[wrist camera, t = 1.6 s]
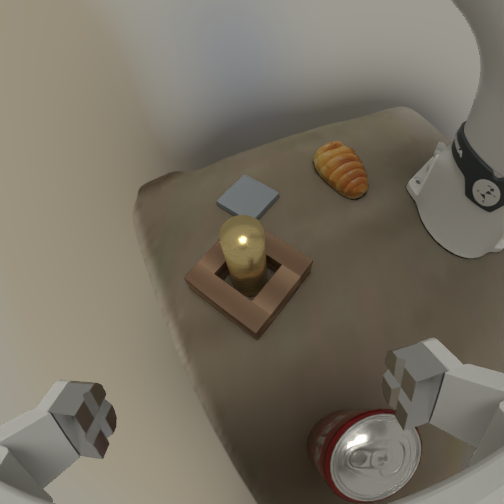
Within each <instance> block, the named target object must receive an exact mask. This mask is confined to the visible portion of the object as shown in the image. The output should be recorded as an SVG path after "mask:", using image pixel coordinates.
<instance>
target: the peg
mask: <svg viewBox="0 0 504 504" xmlns="http://www.w3.org/2000/svg"><path fill="white" fill-rule="evenodd" d="M219 240H220V244H221V247H222V250H223V254H224V257H225V260H226V263H227V267H228V270H229V273H230V276H231V279H232V283H233V286H234V288H235V289H236V290H237V291H238V292H240V293H241V294H242V295H244V296H245V297H254V296H257V295H258V293H259V292H260V291H261V290H262V289H263V287H264V286H265V285H266V284H267V264H266V248H265V233H264V227H263V225H262V224H261V222H260V221H259V220H258V219H256V218H254V217H252V216H249V215H237V216H234V217H231V218H230V219H228V220H227V221H225V222H224V223H223V225H222V226H221V228H220V230H219Z"/></svg>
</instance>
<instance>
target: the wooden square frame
mask: <svg viewBox="0 0 504 504" xmlns="http://www.w3.org/2000/svg"><path fill="white" fill-rule="evenodd" d="M264 233H265V248H266V264H267V267H268V268H270V269H271V270H273V271H274V272H276V273H275V274H274V275H273V276H272V278H271V279H270V280H269V281H268V283H267V284H266V285H265V286H264V287H263V289H262V290H261V291H260V292H259V293H258V295H257V296H256V297H255V298H254V299H253V301H251V300H249V299H248V298H247V297H245V296H244V295H242V294H241V293H240V292H238V291H237V290H236V289H234V288H233V287H231V286H230V285H229V284H227V283H226V282H225V281H223V280H224V278H225V277H226V276H227V275H228V274H229V270H228V267H227V263H226V260H225V257H224V254H223V250H222V247H221V244H220V240H218V241H217V242H216V244H215V245H214V246H213V247H212V248H211V249H210V250H209V251H208V252H207V253H206V254H205V255H204V256H203V257H202V258H201V260H200V261H199V262H198V263H197V264H196V265H195V266H194V267H193V268H192V269H191V270H190V271H189V272H188V273H187V275H186V276H185V277H184V279H185V281H186V282H187V284H188V285H189V287H190V288H191V289H192V290H193V291H194V292H196V293H197V294H198V295H199V296H201V297H202V298H203V299H204V300H206V301H207V302H208V303H209V304H211V305H212V306H213V307H215V308H216V309H217V310H218V311H220V312H221V313H222V314H224V315H225V316H226V317H227V318H229V319H230V320H231V321H233V322H234V323H235V324H237V325H238V326H239V327H241V328H242V329H243V330H245V331H246V332H247V333H249V334H250V335H251V336H253V337H254V338H255V339H257V340H258V339H259V338H260V337H261V335H262V334H263V333H264V332H265V330H266V329H267V328H268V327H269V325H270V324H271V323H272V321H273V320H274V319H275V318H276V316H277V315H278V314H279V313H280V311H281V310H282V309H283V307H284V306H285V305H286V304H287V302H288V301H289V300H290V298H291V297H292V296H293V295H294V293H295V292H296V291H297V289H298V288H299V287H300V285H301V284H302V283H303V281H304V280H305V279H306V277H307V276H308V275H309V273H310V271H311V267H312V263H313V260H312V259H310V258H309V257H307V256H305V255H304V254H302V253H301V252H299V251H297V250H296V249H294V248H293V247H291V246H289V245H288V244H286V243H285V242H283V241H281V240H280V239H278V238H276V237H275V236H273V235H272V234H270V233H268V232H267V231H265V230H264Z"/></svg>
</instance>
